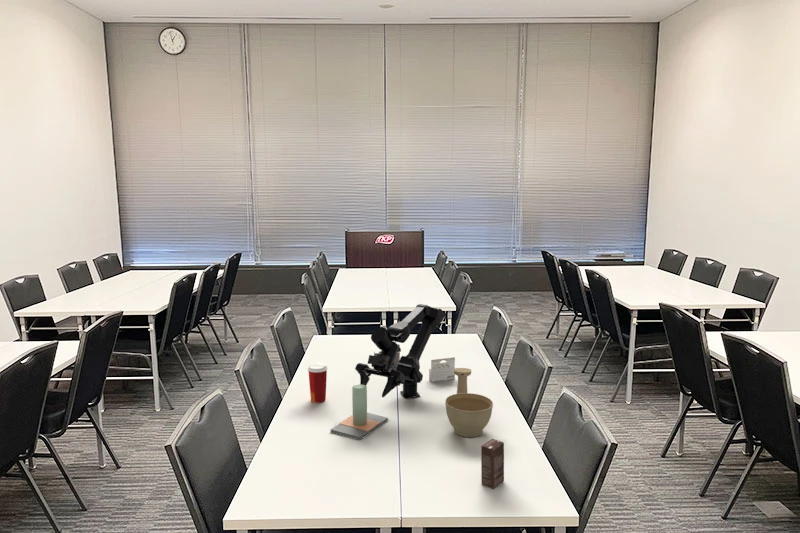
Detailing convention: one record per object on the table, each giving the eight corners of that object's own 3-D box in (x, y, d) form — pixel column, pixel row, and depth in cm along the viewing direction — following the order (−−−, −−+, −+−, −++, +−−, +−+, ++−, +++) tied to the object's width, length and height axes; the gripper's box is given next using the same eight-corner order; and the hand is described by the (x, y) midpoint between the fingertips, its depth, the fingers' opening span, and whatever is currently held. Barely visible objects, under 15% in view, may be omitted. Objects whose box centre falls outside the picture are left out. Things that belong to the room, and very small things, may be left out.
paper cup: (331, 397, 231) (330, 363, 229) (322, 405, 224) (322, 370, 222) (313, 395, 234) (312, 361, 232) (304, 402, 227) (303, 367, 224)
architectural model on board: (398, 366, 269) (398, 346, 268) (399, 368, 266) (399, 348, 265) (374, 367, 268) (373, 347, 266) (374, 369, 265) (374, 349, 263)
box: (490, 476, 173) (491, 437, 171) (504, 481, 170) (505, 442, 168) (479, 484, 168) (480, 445, 166) (493, 490, 166) (494, 450, 164)
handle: (470, 411, 219) (471, 372, 216) (453, 410, 220) (453, 371, 217) (470, 406, 224) (471, 368, 221) (453, 405, 224) (454, 367, 222)
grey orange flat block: (359, 413, 217) (359, 410, 217) (387, 420, 211) (387, 417, 211) (330, 432, 202) (330, 428, 201) (360, 440, 196) (360, 436, 196)
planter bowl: (488, 445, 192) (489, 413, 190) (440, 438, 197) (440, 407, 195) (495, 425, 207) (496, 395, 206) (450, 419, 212) (450, 390, 210)
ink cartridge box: (428, 380, 251) (429, 358, 250) (452, 377, 255) (453, 355, 253) (430, 382, 249) (431, 359, 247) (455, 379, 252) (455, 357, 251)
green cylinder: (354, 419, 209) (353, 384, 207) (368, 419, 208) (367, 384, 206) (351, 425, 204) (351, 389, 202) (366, 425, 203) (365, 389, 202)
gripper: (357, 341, 218) (340, 379, 210) (401, 349, 209) (385, 389, 201) (369, 356, 226) (353, 393, 218) (412, 364, 217) (397, 403, 209)
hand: (371, 394), depth 211 cm, fingers open, 9 cm apart
